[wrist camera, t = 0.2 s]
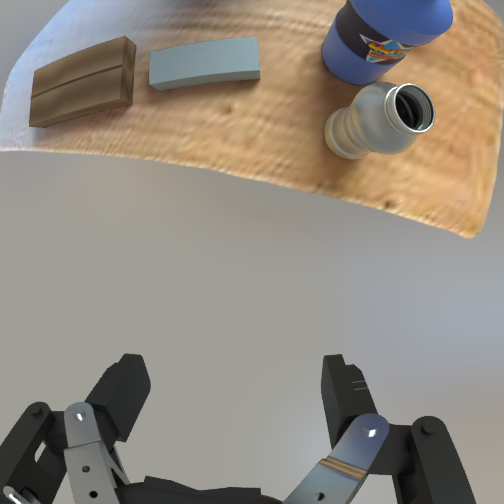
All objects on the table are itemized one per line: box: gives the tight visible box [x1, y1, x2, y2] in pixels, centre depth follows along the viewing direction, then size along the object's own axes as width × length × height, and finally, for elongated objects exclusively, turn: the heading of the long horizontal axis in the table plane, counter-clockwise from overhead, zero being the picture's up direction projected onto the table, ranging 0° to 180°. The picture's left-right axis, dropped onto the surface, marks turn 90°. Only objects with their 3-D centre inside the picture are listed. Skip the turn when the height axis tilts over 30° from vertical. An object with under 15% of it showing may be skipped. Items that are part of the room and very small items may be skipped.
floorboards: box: [29, 36, 136, 128], centre depth 32 cm, size 10×18×4 cm, turn 91°
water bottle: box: [322, 0, 453, 85], centre depth 19 cm, size 9×9×25 cm
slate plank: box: [149, 37, 260, 91], centre depth 31 cm, size 5×14×4 cm, turn 93°
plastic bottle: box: [324, 82, 435, 160], centre depth 25 cm, size 6×7×20 cm
